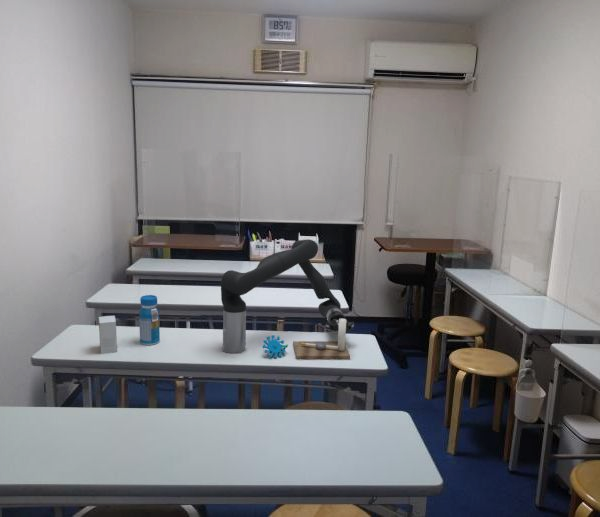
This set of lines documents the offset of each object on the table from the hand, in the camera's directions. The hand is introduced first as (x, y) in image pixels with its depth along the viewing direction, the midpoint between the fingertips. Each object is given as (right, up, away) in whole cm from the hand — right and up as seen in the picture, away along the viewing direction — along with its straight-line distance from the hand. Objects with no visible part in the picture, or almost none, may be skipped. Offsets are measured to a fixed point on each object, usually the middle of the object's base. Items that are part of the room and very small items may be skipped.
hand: (344, 332), depth 212 cm
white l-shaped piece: (-9, -7, +1) cm, 11 cm away
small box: (-97, -7, -4) cm, 97 cm away
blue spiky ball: (-28, -9, -3) cm, 30 cm away
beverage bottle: (-82, -5, +6) cm, 83 cm away
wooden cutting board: (-10, -8, +2) cm, 13 cm away
